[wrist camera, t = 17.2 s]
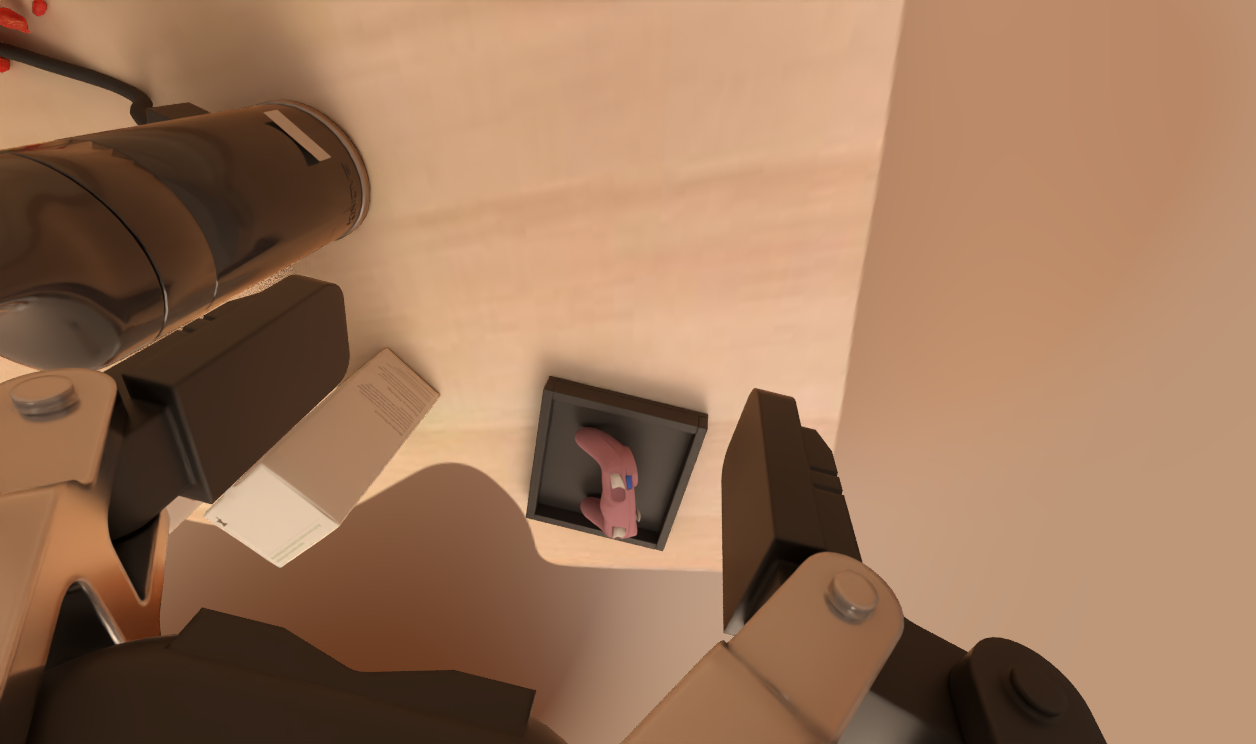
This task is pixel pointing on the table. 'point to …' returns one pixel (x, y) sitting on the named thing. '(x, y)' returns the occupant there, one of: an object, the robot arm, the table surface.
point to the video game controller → (611, 484)
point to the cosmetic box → (325, 461)
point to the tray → (571, 474)
